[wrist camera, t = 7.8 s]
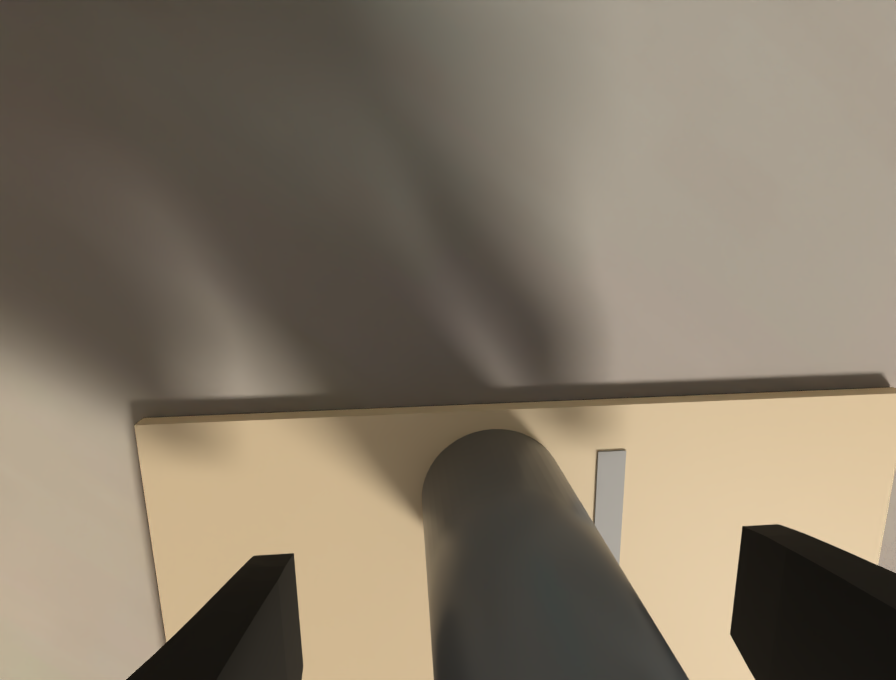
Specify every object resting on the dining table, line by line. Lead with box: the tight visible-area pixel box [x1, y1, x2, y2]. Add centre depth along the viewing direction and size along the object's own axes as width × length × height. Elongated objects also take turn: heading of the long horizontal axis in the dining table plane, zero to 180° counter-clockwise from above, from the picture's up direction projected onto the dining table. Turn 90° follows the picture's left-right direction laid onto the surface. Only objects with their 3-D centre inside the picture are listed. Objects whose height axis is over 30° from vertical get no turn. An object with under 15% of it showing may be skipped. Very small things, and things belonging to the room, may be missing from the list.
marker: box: [422, 429, 689, 680], centre depth 8 cm, size 3×3×8 cm
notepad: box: [134, 387, 896, 680], centre depth 13 cm, size 12×16×1 cm
